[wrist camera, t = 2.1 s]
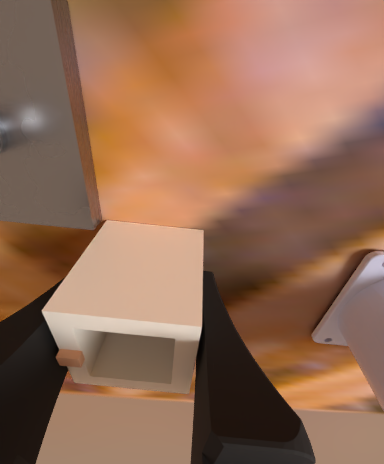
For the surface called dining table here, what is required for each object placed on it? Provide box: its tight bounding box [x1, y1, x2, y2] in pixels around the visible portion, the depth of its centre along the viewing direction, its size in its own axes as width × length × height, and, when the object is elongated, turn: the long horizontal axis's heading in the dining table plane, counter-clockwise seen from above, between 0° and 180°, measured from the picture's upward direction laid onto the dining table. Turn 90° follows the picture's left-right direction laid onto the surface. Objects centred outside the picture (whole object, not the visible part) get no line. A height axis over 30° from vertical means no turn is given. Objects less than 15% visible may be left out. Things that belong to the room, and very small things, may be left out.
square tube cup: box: [42, 220, 204, 394], centre depth 10 cm, size 5×5×6 cm
